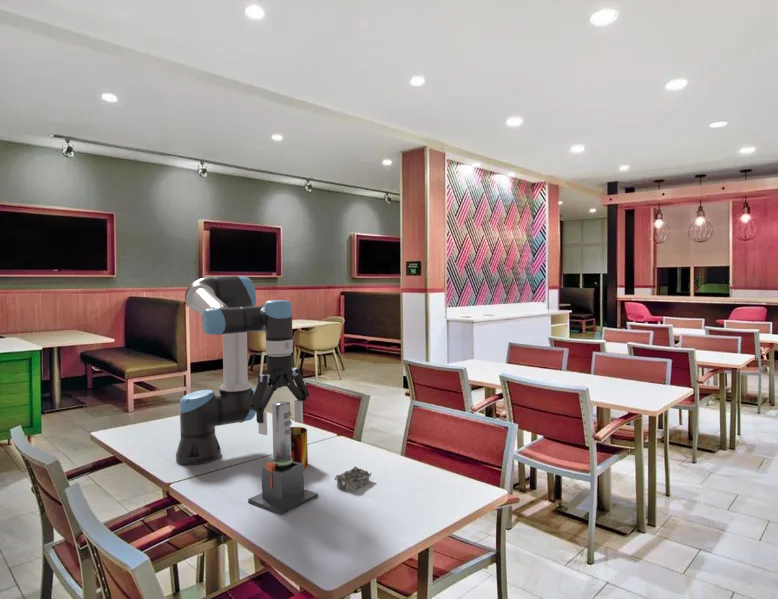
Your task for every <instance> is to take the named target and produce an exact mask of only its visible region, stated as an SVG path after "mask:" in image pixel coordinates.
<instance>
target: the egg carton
mask: <svg viewBox="0 0 778 599" xmlns="http://www.w3.org/2000/svg"><path fill="white" fill-rule="evenodd" d="M372 474H373V473H372V472H370V473H369V472H368V470H364V469H362V468H359V467H357V466H354V467H353V468H352V469H349V470H345V472H343V473H341V474H337V475H335V477H334V481H336V488H337V489H338V490H340V489H341V490H342V489H345V491H346V492H351V491H352V492H354V491H356V489H357V488H362V487H363V486H364V485H363V484H369V483H370V478H371V476H372Z"/></svg>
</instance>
